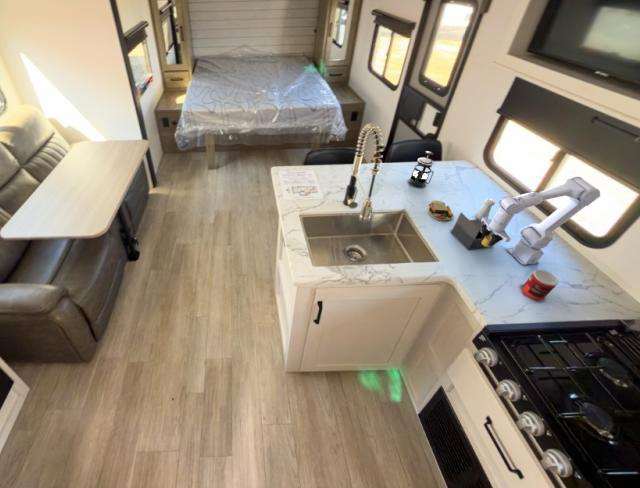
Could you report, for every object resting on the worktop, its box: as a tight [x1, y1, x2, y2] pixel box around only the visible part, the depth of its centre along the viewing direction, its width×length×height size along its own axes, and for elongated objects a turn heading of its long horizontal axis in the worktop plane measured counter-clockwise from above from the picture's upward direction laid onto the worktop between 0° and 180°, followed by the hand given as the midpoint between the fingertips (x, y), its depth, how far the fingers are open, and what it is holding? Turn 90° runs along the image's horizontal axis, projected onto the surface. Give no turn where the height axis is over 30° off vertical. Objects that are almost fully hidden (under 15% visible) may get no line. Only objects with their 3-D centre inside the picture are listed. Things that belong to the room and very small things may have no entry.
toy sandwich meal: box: [427, 200, 454, 222], centre depth 178 cm, size 12×14×5 cm
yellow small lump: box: [481, 235, 492, 248], centre depth 151 cm, size 4×4×4 cm
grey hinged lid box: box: [451, 218, 497, 250], centre depth 162 cm, size 13×13×7 cm
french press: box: [408, 150, 435, 189], centre depth 197 cm, size 12×9×23 cm
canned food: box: [521, 269, 559, 302], centre depth 134 cm, size 8×8×11 cm
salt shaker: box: [475, 198, 496, 222], centre depth 172 cm, size 6×6×13 cm
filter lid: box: [455, 212, 480, 239], centre depth 157 cm, size 13×6×1 cm
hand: (487, 241), depth 151 cm, fingers closed on yellow small lump, 4 cm apart
